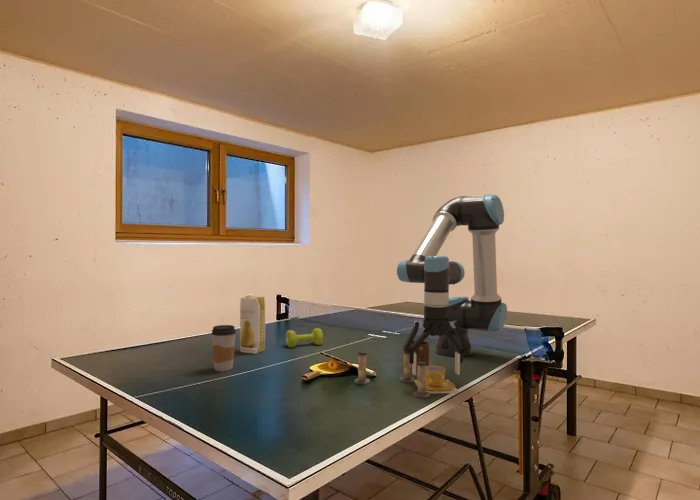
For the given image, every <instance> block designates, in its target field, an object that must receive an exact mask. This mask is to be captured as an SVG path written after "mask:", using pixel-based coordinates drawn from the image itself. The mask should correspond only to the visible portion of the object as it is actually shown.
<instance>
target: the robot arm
mask: <svg viewBox="0 0 700 500" xmlns="http://www.w3.org/2000/svg"><path fill="white" fill-rule="evenodd" d="M504 221H505V210H504V206H503V202H502V201H501V199H500V197H499V196H498V195H497V194H485V193H484V194H478V195H477V194H476V195H475V194H474V195H464V196H463V195H462V196H457V197H454V198H451V199H449V200H448V201H447V202H445V203H444V204H443V205H441V206H440V208H438V210H437V211H436V212H435V213H434V215H433V218H432V223H431V225H430V226H429V228H428V230H427V231H426V233H425V234H424V236H423V237H422V240H421V241H420V242H419V244H418V245H417V247H416V249H415V250H414V252H413V254H412V255H411V257H410V258H409V260H407V259H405V260H401V261H400V262H399V263H398V264H397V267H396V275H397V278H398V280H399V281H401V282H405V283H410V284H411V283H414V284H415V283H416V284H424V286H423V287H424V288H423V292H424V294H423V298H424V299H423V303H424V307H423V320H422V321H420V320H419V321H417V320H416V319H415V320H414V321H413V324H412V329H411V331H410V332H409V335H408V336H407V338H406V341H405V343H404V345H403V346H402V349H403V351H404V350H405V351H406V352H409V362H410V364H412V370H411V374H412V375H413V376H417V371H416V353H415V351H416V349H417V348H418V347H419V346H420V345H421V344H422V342H423V341H425V340H426V339H427V338H428V337H429V336H432V337H436V336H437V338H436V339H437V340H436V343H435V345H434V351H435V353H436V354H439V355H442V356H447V357H454V373H455V374H456V375H457V376H459V375H460V374H461V364H463V363H464V357H468V356H471V355H473V346H472V343H471V339H470V337H469V330H474V331H481V332H488V333H499V332H501V331H502V330H503V329H504V326H505V324H506V320H507V315H508V314H507V313H508V307H507V304H506V303H504V302H502V297H501V296H500V295H499V294H498V281H497V280H498V279H497V252H496V251H497V249H496V247H497V245H496V233H497V232H498V231H499V230H500V225H503V223H504ZM459 226H467V231H468V232H469V233H471V237H472V238H471V239H472V258H473V259H472V260H473V261H472V262H473V263H472V264H473V284H474V285H473V286H474V293H473V295H472V296H471V297H470V299H469V297H468V296H452V297H451V296H450V295H449V294H450V291H449V290H450V289H449V288H450V287H449V286H450V285H453V286H454V285H457V284H458V283H461V282H462V280H463V279H464V278H465V273H466V272H465V268H464V266H463V265H462V264H461V263H460V262H458V261H450V258H449V257H448V256H446V255H438V254H439V252H440V250H441V248H442V247H443V245H444V243H445V242H446V240H447V238H448V236H449V234H450V232H453V231H454V230H455V229H456V227H459ZM449 296H450V297H449ZM422 327H423V328H424V329H423V331H421V334H420V335H419V336H418V337H417V338H416V339H415V337H416V335H417V334H418V331H419V329H421V328H422ZM414 339H415V340H414ZM413 341H415V342H414V343H413V345H412V346H411V344H412V342H413ZM410 346H411V347H410Z"/></svg>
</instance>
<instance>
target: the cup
mask: <svg viewBox="0 0 700 500" xmlns="http://www.w3.org/2000/svg"><path fill="white" fill-rule="evenodd" d="M445 376H446V368H445V366H441V365H429V366H426V389H427V390H434V391H444V390H450V389H453V388H454V387H455V388H456V385H455V383H453V382H452V381H450V380H449V381H447V380H448V379H445ZM414 383H415V382H414ZM415 385H416V386H417V381H416V383H415Z"/></svg>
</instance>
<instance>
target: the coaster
mask: <svg viewBox="0 0 700 500" xmlns="http://www.w3.org/2000/svg"><path fill="white" fill-rule="evenodd" d="M417 380H418V379H415V381H414V383H416V381H417ZM446 380H447V381H450V379H446ZM426 392H429V393H430V394H459V390H458V389H457V388H456V386H455V387H454V388H453V389H450V390H444V391H434V390H427V389H426Z"/></svg>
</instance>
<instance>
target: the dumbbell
mask: <svg viewBox="0 0 700 500" xmlns="http://www.w3.org/2000/svg"><path fill="white" fill-rule="evenodd" d="M284 340H285V344H286V346H287V347H288V349H289V348H290V349H291V348H295V347H296V346H297V343H300V342H310V341H312V343H313V344H314V345H315V346H322V344H323V342H324V333H323V330H322V329H321V328H319V327H315V328H314V329H313V330H312V332H311V333H305V334H297V333H296V331H295V330H291V329H290V330H289V329H288V330H287V331H286V332H285V339H284Z"/></svg>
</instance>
